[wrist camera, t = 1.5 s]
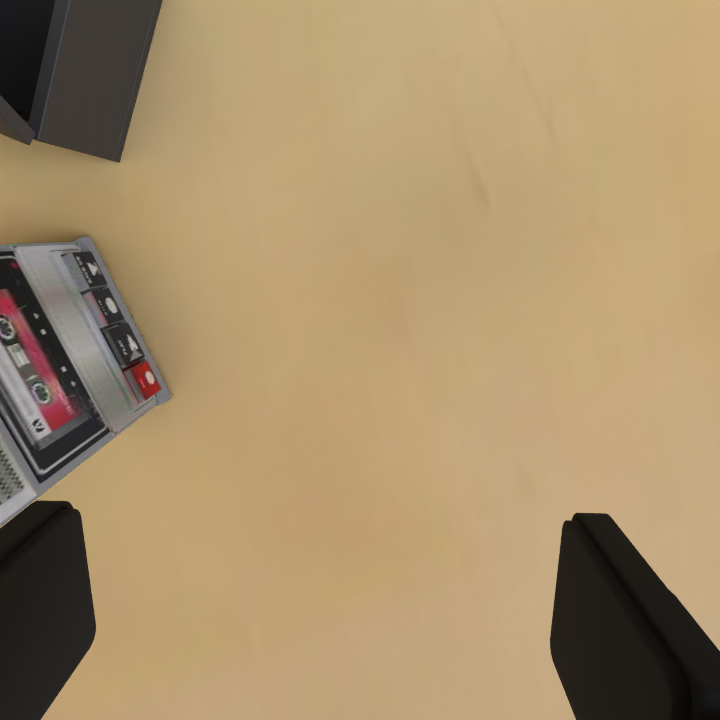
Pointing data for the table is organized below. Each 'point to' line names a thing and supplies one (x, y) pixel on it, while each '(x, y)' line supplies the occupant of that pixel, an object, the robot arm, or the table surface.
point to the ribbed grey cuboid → (64, 366)
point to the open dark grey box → (76, 68)
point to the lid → (14, 124)
